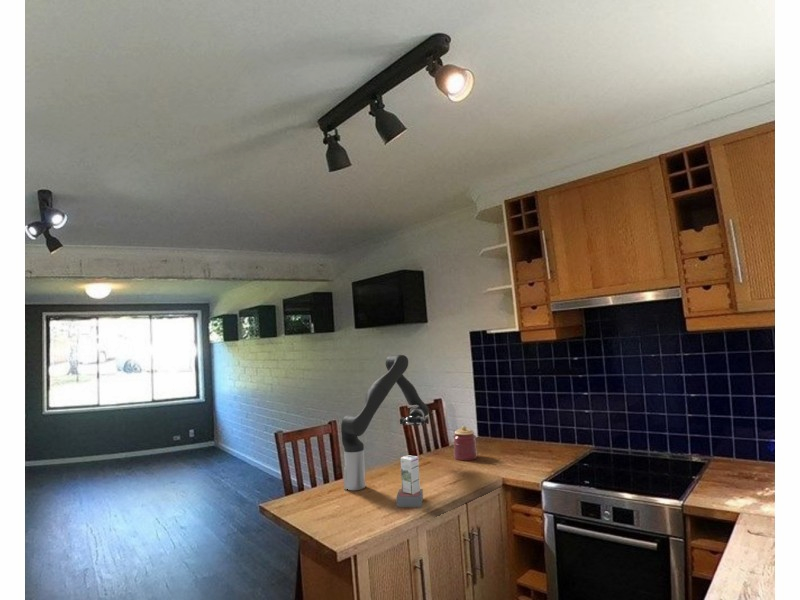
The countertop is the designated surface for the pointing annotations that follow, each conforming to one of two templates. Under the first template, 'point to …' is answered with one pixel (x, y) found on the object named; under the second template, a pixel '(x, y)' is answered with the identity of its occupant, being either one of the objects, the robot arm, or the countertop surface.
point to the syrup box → (410, 474)
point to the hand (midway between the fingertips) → (413, 423)
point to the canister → (464, 444)
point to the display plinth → (409, 499)
